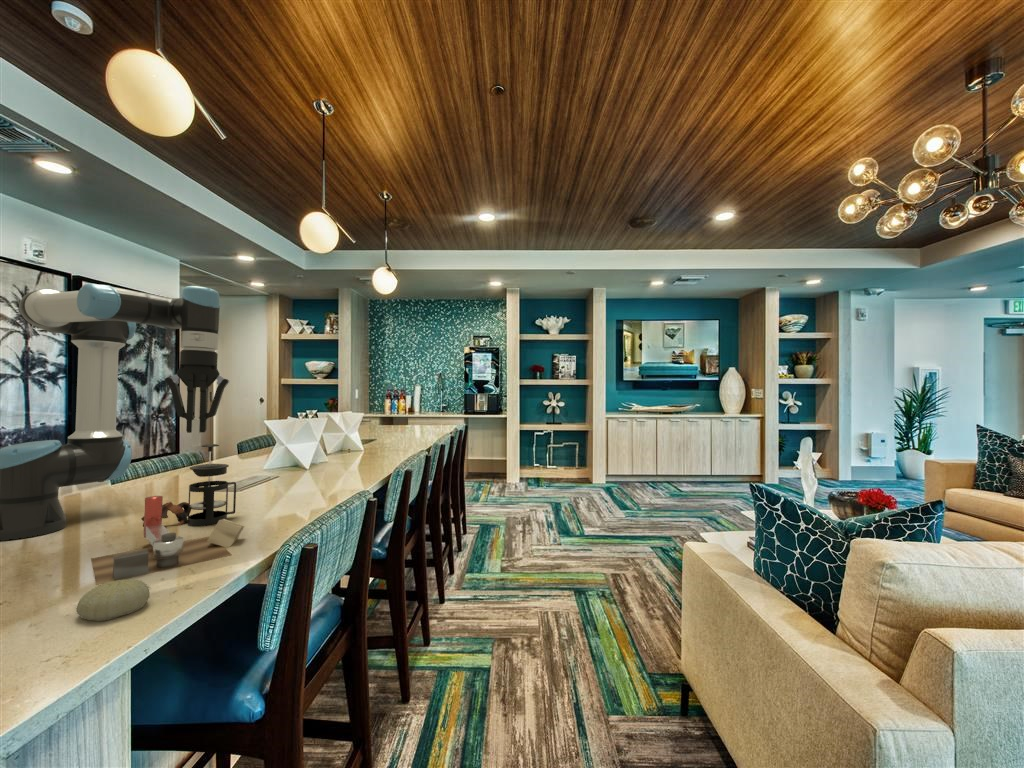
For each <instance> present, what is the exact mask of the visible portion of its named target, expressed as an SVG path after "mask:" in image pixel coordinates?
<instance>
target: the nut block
mask: <svg viewBox="0 0 1024 768" xmlns="http://www.w3.org/2000/svg"><path fill="white" fill-rule="evenodd" d="M214 526H215V527H214V528H213V530H212V532H211V534H210V535H209V536H210V537H209V536H208V537H209V539H208V540H207V542H210V543H213V544H216V545H220V546H223V547H225V548H228V547H231V546H233V544H235V543H236V541H237V540H238V538H240V535H241V534H242V532H243V530H244V528H245V525H243V524H240V523H237V522H234V521H232V520H230V519H227V520H226V519H222V520H219V521H218V523H217V524H216V525H214Z"/></svg>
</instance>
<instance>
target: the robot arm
mask: <svg viewBox="0 0 1024 768" xmlns="http://www.w3.org/2000/svg"><path fill="white" fill-rule="evenodd" d="M220 309H221V305H220V293H219V292H218V291H217V290H215V289H212V288H210V287H205V286H198V285H187V286H184V287H183V289H182V293H181V297H178V298H175V297H169V296H164V295H160V294H159V295H157V294H152V293H148V292H140V291H136V290H130V289H125V288H120V287H115V286H111V285H108V284H97V283H85V284H83V285H82V286H81V287H80V289H79V290H72V291H62V290H54V289H39V290H38V289H37V290H33V291H30V292H27V293H26V294H25V295H23V297H22V298H21V299H20V300H19V304H18V310H19V312H20V314H21V316H22V318H24V320H25V321H27V322H28V323H29V324H30V325H32V326H34V327H36V328H38V329H41V330H43V331H47V332H51V333H55V334H62V335H63V334H64V335H71V339H70V342H71V343H72V344H73V345H74V346H76V348H78V350H77V351H78V354H77V379H76V381H77V383H76V385H77V386H76V407H75V408H76V409H75V411H76V412H75V431H74V432H73V433H72V434H70V435H68V436H67V443H66V444H62V442H61V441H60V440H57V439H48V440H47V439H46V440H37V441H36V440H35V441H28V442H21V443H17V444H16V443H15V444H12V445H7V446H3V447H1V448H0V540H3V541H10V540H9V539H13V540H20V539H19V538H21V539H27V537H28V538H31V537H32V536H33V537H38V536H43V535H47V534H51V533H54V532H57V531H60V530H63V529H65V527H67V516H66V513H65V511H64V508H63V506H62V505H61V503H60V500H59V490H60V488H62V487H70V486H79V485H85V484H92V483H103V482H107V481H112V480H117V479H119V478H121V477H122V476H123V475H124V474H125V473H126V472H127V471H128V470H129V467H130V465H131V461H132V457H133V451H132V448H131V443H130V442H129V441H127V440H125V439H123V434H122V433H121V432H119V431H118V430H117V414H118V412H117V410H118V406H117V405H118V383H119V382H118V380H119V379H118V378H119V377H118V376H119V375H118V374H119V353H120V352H119V351H120V349H122V348H123V347H125V346H126V341H129V340H132V338H133V337H134V336H135V333H136V330H137V324H141V325H148V326H156V327H159V328H161V329H164V330H165V329H166V330H178V329H179V330H180V348H182V349H181V351H180V353H179V355H180V357H179V368H178V370H177V371H176V373H175V374H174V375H172V376H170V377H165V379H164V381H165V382H166V384H167V385H168V386H169V388H170V392H171V395H172V399H173V403H174V407H175V412H176V415H177V417H179V418H183V419H185V420H186V432H187V433H191V439H190V441H191V442H190V446H191V448H194V447H196V448H197V447H201V446H202V433H206V432H207V428H208V427H207V426H208V425H207V421H208V419H209V418H212V417H215V416H216V415H217V412H218V408H219V406H220V403H221V400H222V397H223V393H224V390H225V388H226V387H227V386H228V385H229V384H230V380H229V379H228V378H225V377H223V376H221V375H220V371H219V370H218V358H219V357H218V356H219V354H218V352H217V350H219V328H220V327H219V324H220V311H221V310H220ZM180 380H181V381H182V383H183V384H184V385H185V386H186V391H187V394H186V395H187V396H186V398H187V399H186V409H185V405H184V401H183V398H182V394H181V390H180V386H179V383H180ZM216 380H217V381H216ZM215 381H216V385H217V387H216V390H215V394H214V396H213V399H212V403H211V405H210V409H209V407H208V404H209V403H208V402H209V401H208V400H209V390H210V389H209V388H210V387H211V386H212V385H213V383H215ZM197 388H199V392H200V393H199V416H198V418H195V417H196V416H195V415H196V393H197ZM208 409H209V411H208ZM37 535H38V536H37ZM33 537H32V538H33Z"/></svg>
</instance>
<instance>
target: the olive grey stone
mask: <svg viewBox="0 0 1024 768" xmlns="http://www.w3.org/2000/svg"><path fill="white" fill-rule="evenodd" d="M150 592H151V591H150V588H149V586H148V585H147V583H145V582H144V581H142V580H140V579H136V578H126V579H122V580H117V581H110V582H107V583H103V584H99V585H97V586H95V587H94V588H92V589H91V590H88V591H87V592H86V593H85V594H84V595H83V596H82V597H81V598H80V599H79V601H78V603H77V605H76V607H75V608H76V614H77V615H78V616H79V617H80V618H82V619H85V620H89V621H90V622H93V621H96V622H103V621H108V620H111V619H117V618H118V617H121V616H124V615H128V614H131V613H134V612H136V611H138V610H140V609H142V608H143V607H144V605H145V604H147V601H148V600H149V598H150V594H151V593H150Z"/></svg>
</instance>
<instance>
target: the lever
mask: <svg viewBox="0 0 1024 768" xmlns="http://www.w3.org/2000/svg"><path fill="white" fill-rule="evenodd" d="M163 498H164V497H163V495H151V496H146V497H144V515H143V517H144V521H143V523H144V527H143V538H145V539H147V541H148V543H149V544H150V545H151V547H153V559H168V558H173V557H176V556H179V555H181V554H182V553H183V541H184V537H182V536H176V539H175V540H172V541H161V536H162V535H163V534H167V533H171V532H170V531H169V529H167V528H166V526H164V524H162V519H163V518H162V505H163Z"/></svg>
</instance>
